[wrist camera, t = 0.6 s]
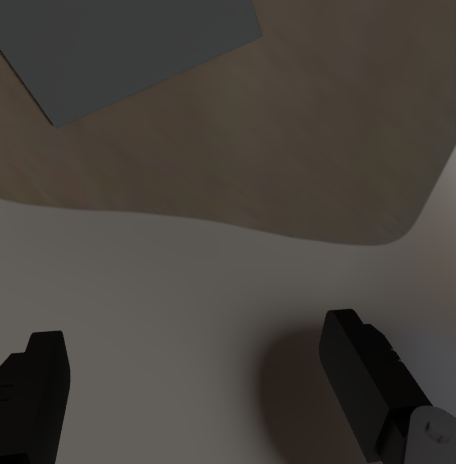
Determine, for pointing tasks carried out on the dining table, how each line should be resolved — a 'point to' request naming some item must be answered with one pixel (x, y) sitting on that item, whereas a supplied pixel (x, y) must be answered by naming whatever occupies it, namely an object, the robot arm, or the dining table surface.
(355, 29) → the dining table surface
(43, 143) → the dining table surface
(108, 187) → the dining table surface
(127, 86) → the rubber mat
